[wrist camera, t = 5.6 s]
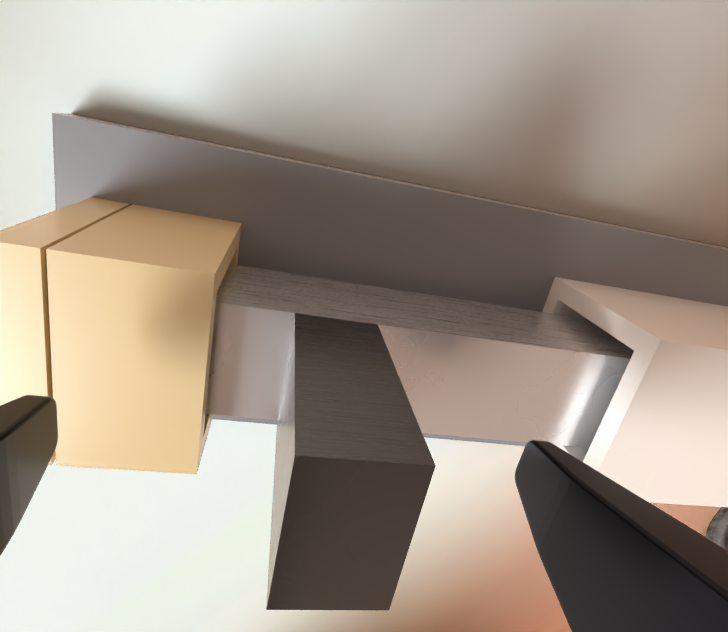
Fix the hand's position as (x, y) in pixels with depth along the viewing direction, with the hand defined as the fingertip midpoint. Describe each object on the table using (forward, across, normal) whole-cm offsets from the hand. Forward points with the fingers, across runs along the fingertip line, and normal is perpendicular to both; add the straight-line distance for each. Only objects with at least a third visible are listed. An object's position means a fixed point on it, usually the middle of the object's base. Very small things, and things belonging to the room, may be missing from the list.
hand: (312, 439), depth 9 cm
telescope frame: (+8, -6, 0) cm, 10 cm away
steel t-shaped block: (+6, -3, 0) cm, 7 cm away
